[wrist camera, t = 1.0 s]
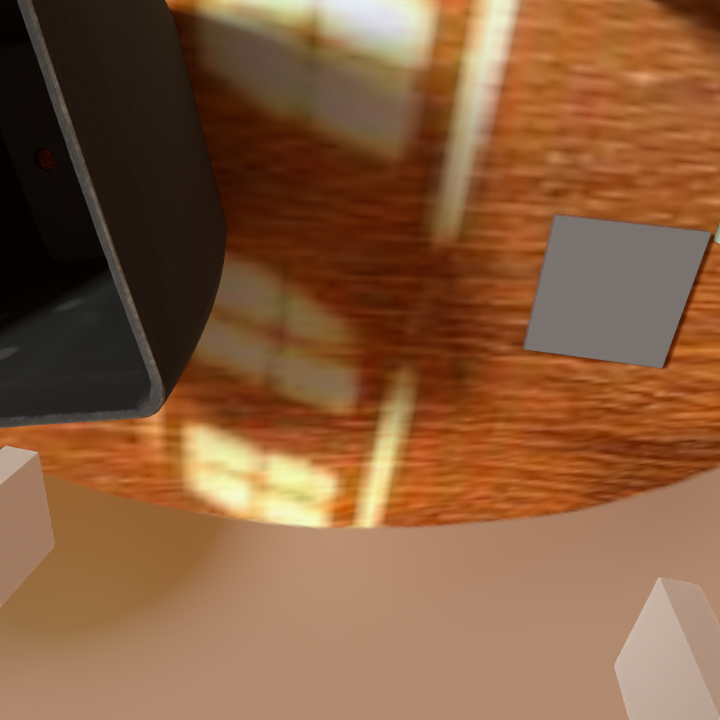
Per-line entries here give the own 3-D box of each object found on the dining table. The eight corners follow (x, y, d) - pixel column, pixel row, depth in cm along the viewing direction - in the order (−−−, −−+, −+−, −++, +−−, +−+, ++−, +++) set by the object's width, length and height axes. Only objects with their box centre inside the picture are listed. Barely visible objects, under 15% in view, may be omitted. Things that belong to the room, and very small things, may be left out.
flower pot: (214, -92, 27) (-98, -347, 12) (295, 281, 34) (169, 420, 19) (-98, -6, 31) (-634, -112, 15) (36, 312, 38) (-237, 448, 23)
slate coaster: (554, 213, 30) (555, 215, 29) (706, 230, 29) (711, 232, 29) (523, 345, 34) (524, 349, 33) (658, 363, 33) (662, 368, 32)
